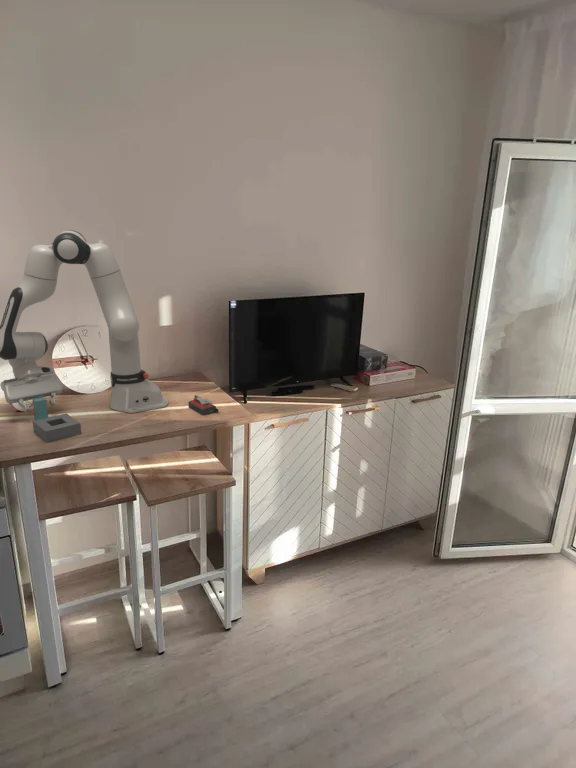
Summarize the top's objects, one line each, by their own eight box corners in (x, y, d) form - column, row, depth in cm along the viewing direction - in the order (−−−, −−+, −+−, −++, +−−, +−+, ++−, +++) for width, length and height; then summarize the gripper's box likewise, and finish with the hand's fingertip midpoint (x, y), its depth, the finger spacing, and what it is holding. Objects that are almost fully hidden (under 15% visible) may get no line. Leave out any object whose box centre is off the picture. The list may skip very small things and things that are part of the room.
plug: (44, 417, 217) (42, 396, 214) (48, 419, 214) (46, 399, 212) (35, 419, 215) (32, 398, 212) (38, 422, 212) (36, 401, 210)
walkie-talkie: (223, 412, 227) (197, 398, 241) (223, 402, 225) (197, 388, 240) (203, 417, 221) (178, 402, 236) (203, 406, 220) (178, 392, 235)
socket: (67, 423, 211) (66, 413, 210) (81, 433, 203) (80, 423, 202) (33, 431, 204) (32, 421, 202) (47, 442, 195) (45, 431, 194)
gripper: (-1, 376, 208) (12, 409, 204) (56, 367, 221) (69, 397, 217) (-3, 385, 212) (9, 418, 208) (53, 375, 225) (65, 405, 221)
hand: (40, 407), depth 213 cm, fingers open, 8 cm apart
